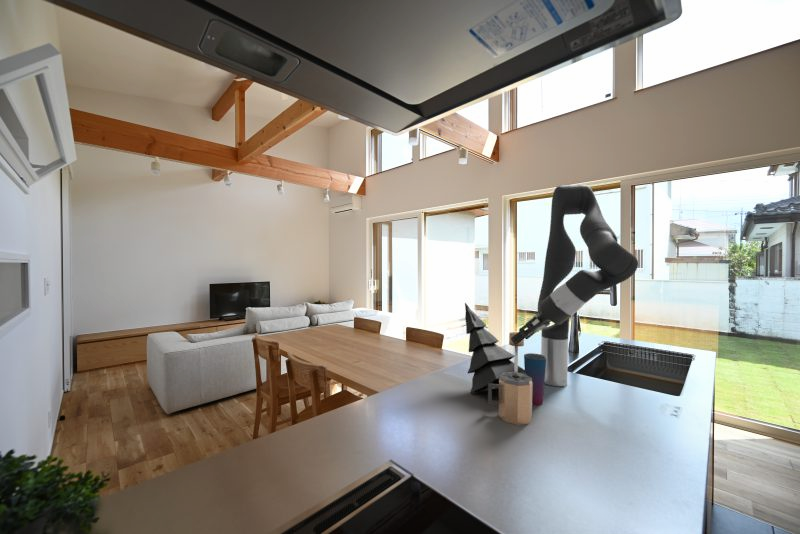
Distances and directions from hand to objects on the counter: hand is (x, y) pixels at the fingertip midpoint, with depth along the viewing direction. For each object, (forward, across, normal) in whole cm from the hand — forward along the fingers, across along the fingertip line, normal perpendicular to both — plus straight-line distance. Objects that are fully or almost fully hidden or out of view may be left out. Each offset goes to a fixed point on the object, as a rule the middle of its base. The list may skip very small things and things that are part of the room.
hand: (518, 339), depth 98 cm
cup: (+16, -15, +16) cm, 28 cm away
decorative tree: (+28, -14, +5) cm, 32 cm away
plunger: (+12, 0, +11) cm, 17 cm away
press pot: (+17, +1, +15) cm, 23 cm away
